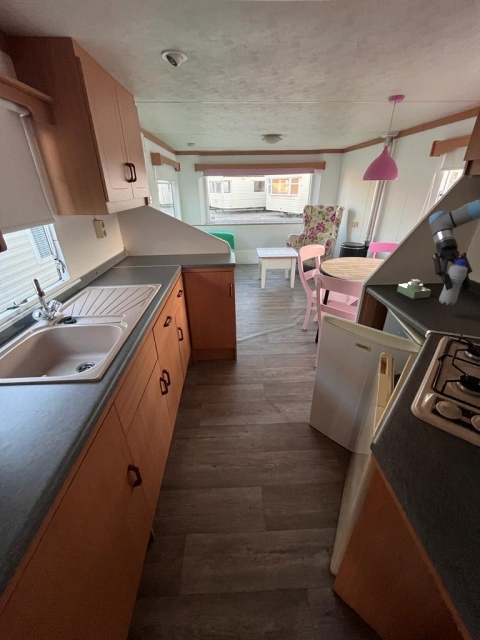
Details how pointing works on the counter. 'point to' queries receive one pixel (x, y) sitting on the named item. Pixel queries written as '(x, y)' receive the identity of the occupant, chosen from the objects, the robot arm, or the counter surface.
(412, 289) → the dispenser
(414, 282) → the pump
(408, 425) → the counter surface
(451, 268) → the bottle
